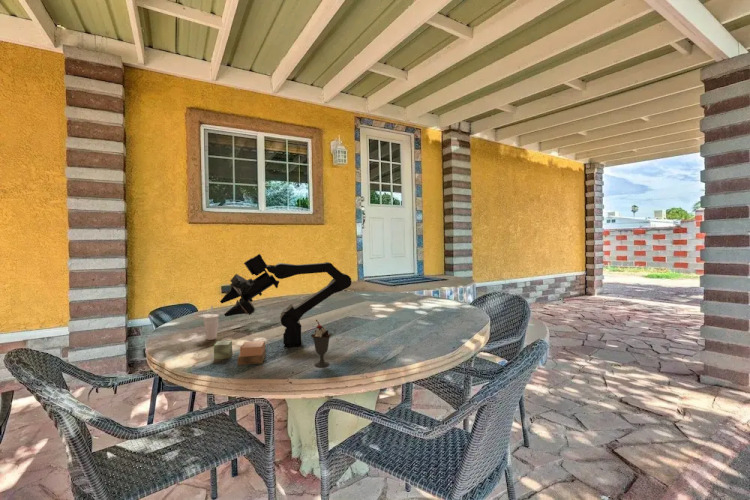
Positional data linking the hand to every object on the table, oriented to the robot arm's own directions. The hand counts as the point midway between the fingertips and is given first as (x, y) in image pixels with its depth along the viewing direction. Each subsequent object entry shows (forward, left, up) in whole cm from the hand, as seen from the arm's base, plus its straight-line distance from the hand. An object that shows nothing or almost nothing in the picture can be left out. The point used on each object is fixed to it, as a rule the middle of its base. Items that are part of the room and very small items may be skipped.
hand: (222, 308), depth 137 cm
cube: (-1, +6, -16) cm, 17 cm away
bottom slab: (-12, +12, -17) cm, 24 cm away
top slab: (-13, +12, -13) cm, 22 cm away
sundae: (-36, +21, -16) cm, 45 cm away
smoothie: (+10, -19, -16) cm, 27 cm away
